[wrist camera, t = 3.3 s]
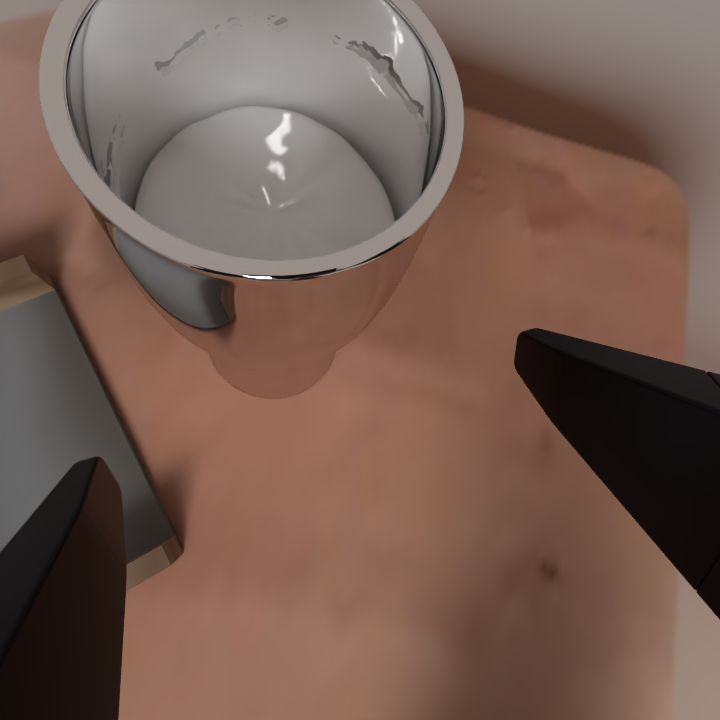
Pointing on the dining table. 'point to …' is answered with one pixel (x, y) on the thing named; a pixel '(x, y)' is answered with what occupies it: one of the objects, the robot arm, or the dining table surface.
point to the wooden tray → (64, 420)
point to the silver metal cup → (256, 163)
